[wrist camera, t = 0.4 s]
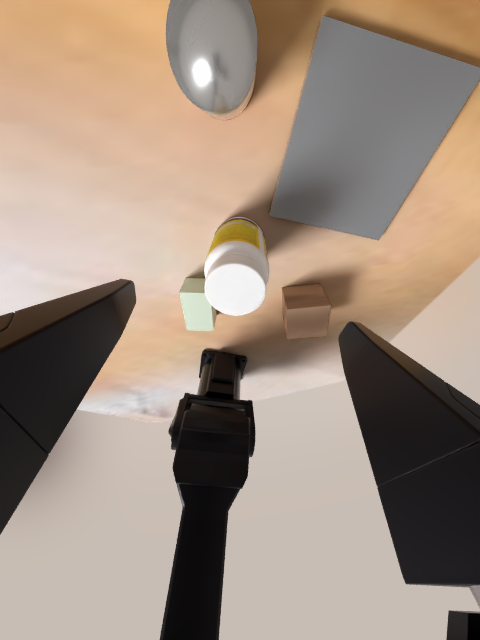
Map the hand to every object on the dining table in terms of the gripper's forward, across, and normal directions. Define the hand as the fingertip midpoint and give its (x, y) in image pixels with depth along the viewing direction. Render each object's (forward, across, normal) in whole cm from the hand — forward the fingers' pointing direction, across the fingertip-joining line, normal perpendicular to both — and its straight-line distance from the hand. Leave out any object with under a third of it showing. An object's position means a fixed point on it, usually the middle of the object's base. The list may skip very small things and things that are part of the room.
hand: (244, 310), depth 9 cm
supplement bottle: (+13, 0, +2) cm, 13 cm away
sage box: (+13, +3, +9) cm, 16 cm away
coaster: (+13, -7, -6) cm, 16 cm away
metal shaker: (+12, +3, -8) cm, 15 cm away
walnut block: (+13, -8, +6) cm, 17 cm away
